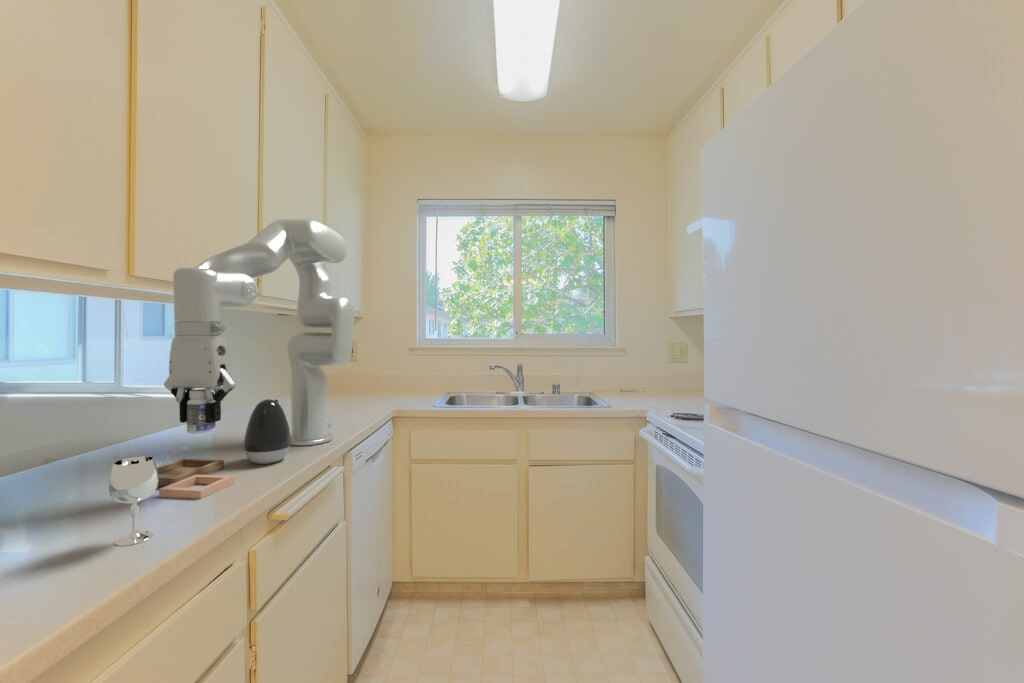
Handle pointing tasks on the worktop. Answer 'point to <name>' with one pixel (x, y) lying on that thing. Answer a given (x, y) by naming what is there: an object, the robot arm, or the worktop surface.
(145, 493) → the wineglass
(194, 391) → the pill bottle
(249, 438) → the pump dispenser
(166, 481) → the tray
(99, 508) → the worktop surface
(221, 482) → the frame
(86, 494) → the worktop surface
